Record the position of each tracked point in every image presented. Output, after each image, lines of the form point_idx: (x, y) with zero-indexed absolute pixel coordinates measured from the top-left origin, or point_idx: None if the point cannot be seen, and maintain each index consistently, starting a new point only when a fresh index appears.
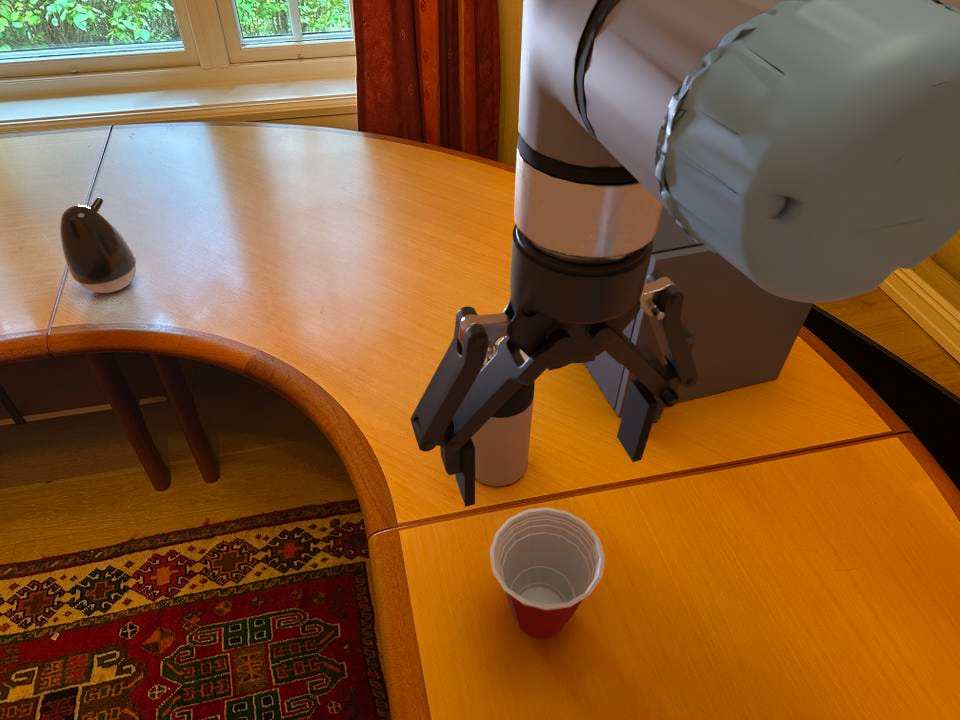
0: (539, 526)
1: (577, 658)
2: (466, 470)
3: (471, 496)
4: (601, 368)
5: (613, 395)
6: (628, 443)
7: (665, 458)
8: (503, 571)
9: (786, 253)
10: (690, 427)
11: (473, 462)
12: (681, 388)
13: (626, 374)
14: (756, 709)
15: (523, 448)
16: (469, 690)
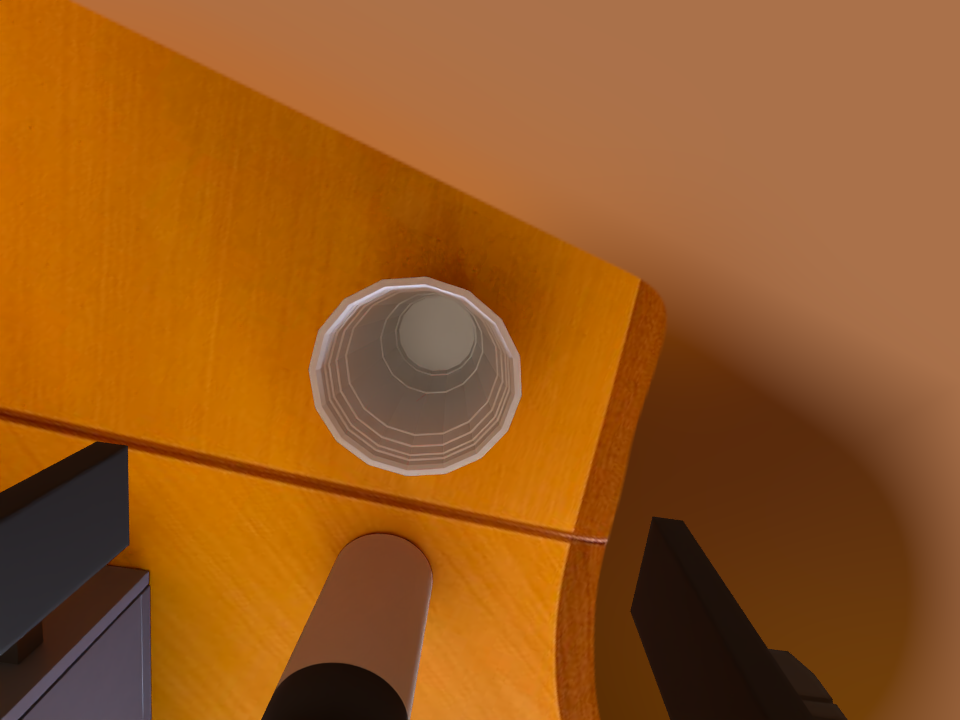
0: (394, 439)
1: (419, 251)
2: (764, 655)
3: (678, 543)
4: (122, 672)
5: (132, 613)
6: (98, 507)
7: None
8: (486, 396)
9: None
10: None
11: (756, 685)
12: None
13: (76, 650)
14: (213, 72)
15: (339, 584)
16: (580, 279)
